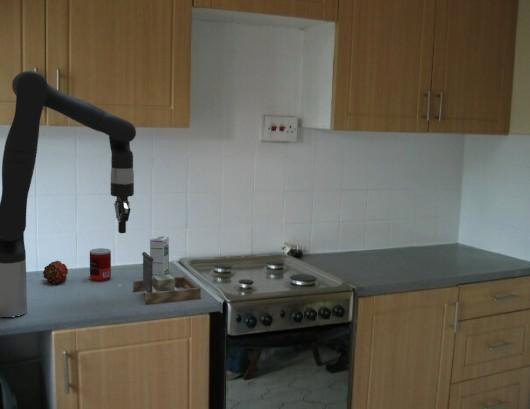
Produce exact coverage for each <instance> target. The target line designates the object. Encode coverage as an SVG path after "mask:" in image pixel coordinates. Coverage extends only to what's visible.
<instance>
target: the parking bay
mask: <svg viewBox="0 0 530 409" xmlns="http://www.w3.org/2000/svg"><path fill="white" fill-rule="evenodd" d="M172 277H173V276H172ZM173 278H175V287H176V288H177V289H178V288H182V289H178V290H170V291H161V292H151V293H146V292H145V291H144V288H143V279H141V280H134V281H133V280H132V291H133V292H134V293H135V292H145V293H144V304H145V305H154V304H162V303H169V302H180V301H188V300H189V301H190V300H198V299H199V300H200V299H201V298H202V297H201V295H202V292H201V291H202V289H201V287H200V286H198V285H197V284H196V283H194V282H193V281H192V280H190V279H189V278H188V277H187V276H174V277H173ZM152 286H153V278H152Z"/></svg>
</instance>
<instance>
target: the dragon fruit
mask: <svg viewBox="0 0 530 409" xmlns="http://www.w3.org/2000/svg"><path fill="white" fill-rule="evenodd" d="M43 269H44V270H43V271H42V275H43V278H44V279H46V280H47V281H48V282H49V281H51V282H50V283H52V284H56V283H57V284H58V283H60V282H65V281H66V280H67V275H68V274H69V271H68V270H69V269H68V267H67V265H66V264H65V263H62V261H60V260H55V261H51V262H50V263H49V264H47V265H46V266H44V268H43Z"/></svg>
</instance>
